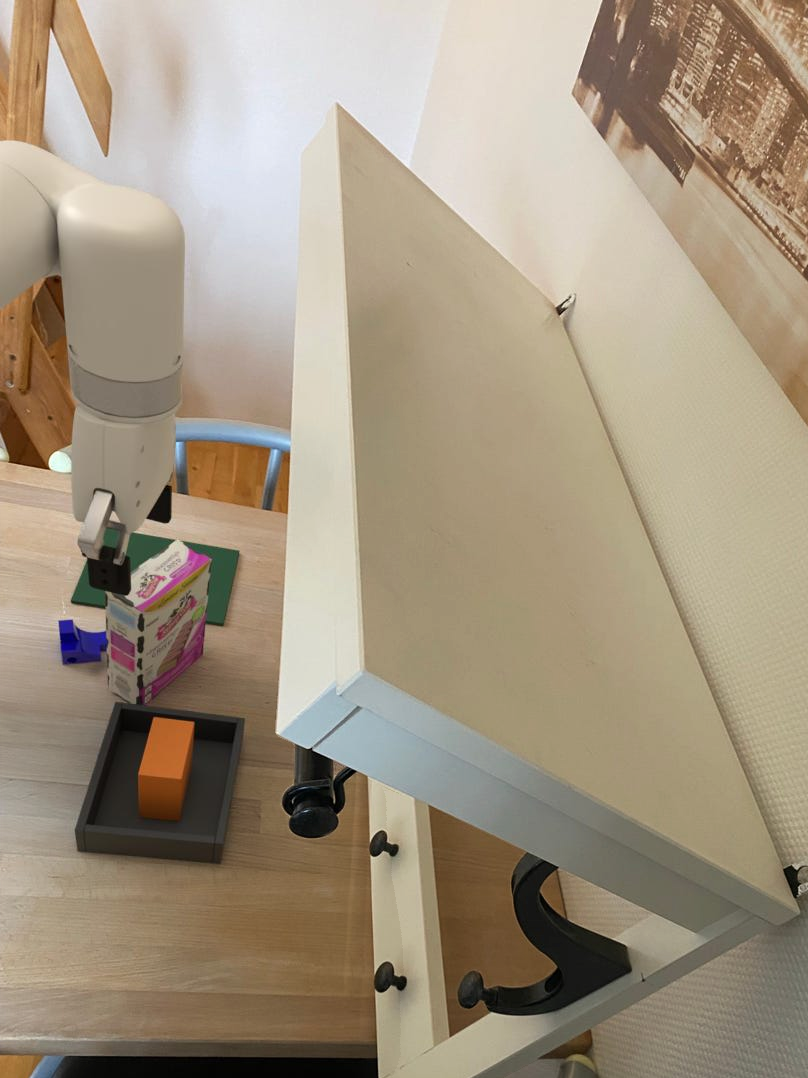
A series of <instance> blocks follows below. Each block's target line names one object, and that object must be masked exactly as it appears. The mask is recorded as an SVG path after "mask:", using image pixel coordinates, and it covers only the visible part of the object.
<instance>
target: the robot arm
mask: <svg viewBox="0 0 808 1078" xmlns="http://www.w3.org/2000/svg"><path fill="white" fill-rule="evenodd" d="M185 239H186V238H185V230H184V227H183V223H182V221H181V219H180V217H179V215H178V214H177V212H176V211H175V210H174V209H173V208H172V207H171V206H170V205H169V204H168V203H166V202H165V201H164V200H163V199H161V198H160V197H158V196H155V195H153V194H151V193H148V192H146V191H144V190H140V189H137V188H133V187H129V186H123V185H117V184H109V183H107V182H106V181H103V180H101V179H99V178H97V177H95V176H93V175H92V174H90V173H87V172H86V171H84V170H82V169H80V168H78V167H76V166H75V165H73V164H71V163H69V162H68V161H66V160H64V159H63V158H61V157H59V156H58V155H55V154H54V153H51V151H47V150H45V149H43V148H42V147H39V146H37V145H34V144H32V143H29V142H25V141H19V140H5V139H3V140H0V311H1V310H2V309H4V308H5V307H6V306H8V305H10V303H12V302H13V301H14V300H16V299H17V298H18V297H20V296H21V295H22V294H23V293H25V292H26V291H28V290H29V289H30V288H31V287H33V286H34V285H35V284H37V283H38V282H39V281H40V280H42V279H46V278H50V277H54V276H58V277H61V289H62V298H63V299H62V301H63V313H64V325H65V335H66V336H65V337H66V347H67V348H66V349H67V359H68V370H69V382H70V383H69V384H70V394H71V397H72V399H73V400H74V402H75V403H76V407H75V409H74V415H73V422H72V432H71V446H70V447H71V448H70V449H71V451H70V454H71V455H70V480H71V504H72V514H73V518H74V519H75V521H76V522H78V523H83V524H82V526H81V529H80V532H79V534H78V537H77V547H78V548H79V549H80V552H81V555H82V557H84V558H86V561H87V564H88V576H89V585H90V586H91V587H92V588H95V589H99V590H103V591H108V592H112V593H116V594H120V595H124V596H127V595H129V593H130V591H131V566H130V557H128V556H126V550H127V546H128V542H129V537H130V533H133V532H134V533H135V532H136V531H138V530H139V529H140V528H141V527H142V525H143V524H144V522H145V521H146V520H149V521H153V522H155V523H161V524H169V523H170V522H171V520H172V516H173V515H172V514H173V512H172V511H173V508H172V507H173V506H172V505H173V486H172V485H170V484H171V483H172V482H173V481H172V480H173V477H174V467H175V461H176V449H177V447H176V446H177V445H176V443H177V439H176V438H177V435H176V434H177V433H176V429H177V428H176V427H177V426H176V412H178V410H179V409H180V407H181V406H182V401H183V359H184V317H185V316H184V314H185V313H184V312H185V307H184V306H185V267H186V265H185V263H186V241H185ZM113 512H114V513H115V515H116V517H117V519H118V521H115V520H111V517H112V513H113ZM106 528H109V529H113V530H117V531H119V534H118V539H117V543H116V547H115V548H113V547H109V546H105V545H104V541H103V536H104V532H105V530H106Z"/></svg>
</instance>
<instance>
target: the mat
mask: <svg viewBox="0 0 808 1078" xmlns="http://www.w3.org/2000/svg"><path fill="white" fill-rule="evenodd" d="M118 534H119V531H117V530H113V529H109V528H106V530H105V532H104V536H103V541H104V545H105V546H109V547H113V548H115V547H116V543H117V539H118ZM176 540H177V539H174V538H168V537H163V536H156V535H150V534H145V533H139V532H135V531H134V532H133V533H130V537H129V542H128V546H127V550H126V556H128V557H130V566H131V571H133V570H134V569H136V568H137V567H138V566H140V565H141V564H143V563H144V562H146V561H147V560H149V559H150V558H151V557H153V556H154V555H156V554H157V553H159V552H160V551H162V550H163V549H165V548H166V547H167V546H169V545H170V544H172V543H173V542H174V541H176ZM180 541H181V542H183V543H185V544H187V545H188V546H189V547H191V548H193V549H195V550H197V551H198V552H200V553H202V554H204V555H206V556H207V557H209V558H210V559H212V561H211V571H210V581H209V593H208V602H207V612H206V613H207V614H206V623H205V625H206V624H208V625H214V626H220V627H224V625H225V624H224V623H225V620H226V616H227V611H228V606H229V601H230V597H231V592H232V587H233V583H234V578H235V574H236V570H237V565H238V560H239V557H240V556H239V555H240V550H238V549H232V548H227V547H221V546H215V545H209V544H203V543H197V542H192V541H185V540H180ZM70 604H74V605H80V606H88V607H94V608H101V609H106V605H105V591H103V590H99V589H95V588H92V587H91V586H90V585H89V576H88V564H87V560H86V561H85V564H84V566H83V569H82V571H81V573H80V576H79V579H78V581H77V583H76V586H75V589H74V591H73V594H72V596H71V598H70Z"/></svg>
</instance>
